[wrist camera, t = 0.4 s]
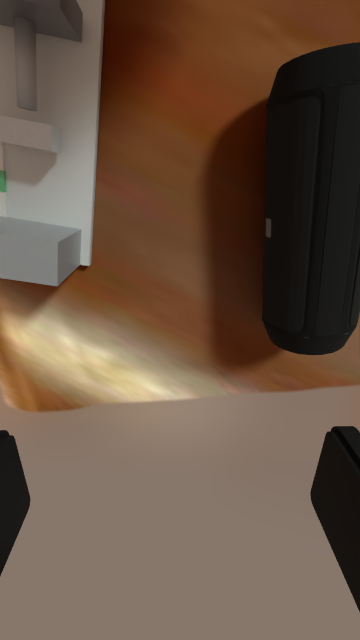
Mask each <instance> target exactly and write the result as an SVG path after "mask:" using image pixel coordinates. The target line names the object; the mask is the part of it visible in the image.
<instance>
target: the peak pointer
mask: <svg viewBox="0 0 360 640" xmlns="http://www.w3.org/2000/svg"><path fill="white" fill-rule="evenodd" d="M0 142H2V143H7V144H12V145H17V146H23V147H28V148H34V149H39V150H44V151H50V152H55V153H61V130H60V129H58V128H56V127H54V126H52V125H49V124H43V123H38V122H33V121H28V120H23V119H17V118H12V117H7V116H2V115H0Z"/></svg>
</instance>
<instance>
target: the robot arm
mask: <svg viewBox="0 0 360 640" xmlns="http://www.w3.org/2000/svg"><path fill="white" fill-rule="evenodd" d="M311 501H312V504H313V507H314V509H315V511H316V514H317V516H318V518H319V520H320V522H321V525H322V527H323V530H324V532H325V534H326V536H327V539H328V541H329V543H330V545H331V548H332V550H333V552H334V554H335V557H336V559H337V561H338V563H339V566H340V568H341V570H342V573H343V575H344V577H345V580H346V582H347V584H348V586H349V589H350V591H351V593H352V595H353V597H354V600H355V602H356V604H357V607H358V609H359V611H360V433H359V431H358V430H357V429H356V428H355V427H353V426H340V427H339V426H336V427H333V428H332V429H331V432H327V433H326V436H325V440H324V444H323V447H322V451H321V455H320V459H319V462H318V466H317V470H316V474H315V477H314V481H313V485H312V488H311ZM29 506H30V495H29V492H28V487H27V483H26V480H25V476H24V472H23V468H22V464H21V461H20V457H19V453H18V449H17V445H16V442H15V438H14V436H10V435H9V433H8V432H7V431H6V430H1V431H0V575H1V573H2V571H3V568H4V566H5V564H6V561H7V559H8V556H9V554H10V552H11V550H12V547H13V545H14V542H15V540H16V538H17V535H18V533H19V531H20V528H21V526H22V524H23V521H24V519H25V517H26V514H27V512H28V509H29Z"/></svg>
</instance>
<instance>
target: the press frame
mask: <svg viewBox="0 0 360 640" xmlns="http://www.w3.org/2000/svg"><path fill="white" fill-rule="evenodd" d="M76 1H77V3H78V5H79V7H80V9H81V11H82V13H83V22H82V43H81V42H77V41H72V40H67V39H63V38H58V37H54V36H49V35H45V34H40V33H36V71H37V111H30V110H25V109H22V108H19V107H17V98H16V69H15V40H14V28H13V27H8V26H3V25H0V115H2V116H7V117H12V118H17V119H23V120H28V121H33V122H38V123H43V124H49V125H52V126H54V127H56V128H58V129H60V130H61V153H55V152H50V151H44V150H39V149H34V148H28V147H23V146H17V145H12V144H7V143H2V142H0V278H3V279H10V280H17V281H24V282H31V283H38V284H45V285H52V286H58V285H59V284H60V283H61V282H63V281H64V280H65V279H66V278H67V277H68V276H69V275H70V274H71V273H72V272H73V271H74V270H75V269H76V268H77V267H78V266H79V265H85V266H90V264H91V254H92V235H93V217H94V199H95V180H96V162H97V144H98V125H99V107H100V88H101V70H102V52H103V33H104V15H105V0H76Z"/></svg>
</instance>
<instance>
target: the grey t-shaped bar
mask: <svg viewBox="0 0 360 640" xmlns="http://www.w3.org/2000/svg"><path fill="white" fill-rule="evenodd" d="M82 22H83V13H82V11H81V9H80V7H79V5H78V3H77V1H76V0H0V25H3V26H8V27H13V28H14V40H15V69H16V98H17V107H19V108H22V109H25V110H30V111H37V71H36V33H40V34H45V35H49V36H54V37H58V38H63V39H67V40H72V41H77V42H81V43H82Z"/></svg>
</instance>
